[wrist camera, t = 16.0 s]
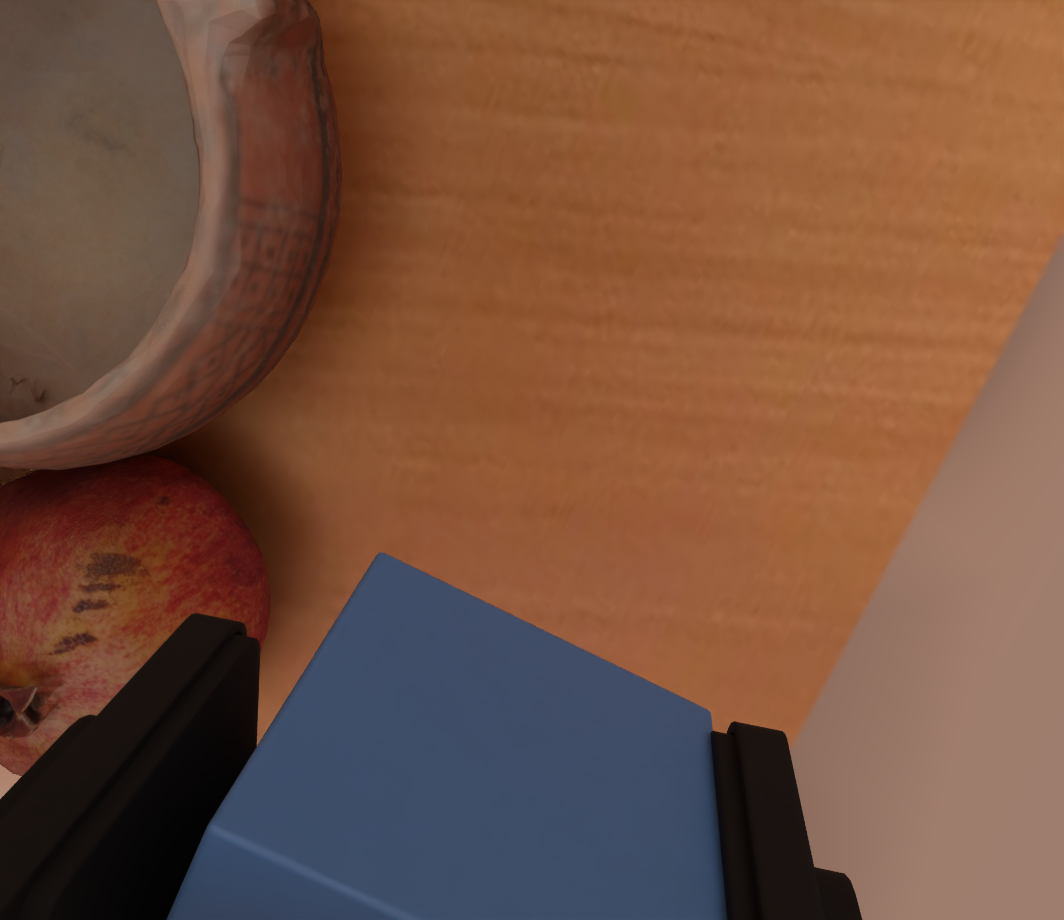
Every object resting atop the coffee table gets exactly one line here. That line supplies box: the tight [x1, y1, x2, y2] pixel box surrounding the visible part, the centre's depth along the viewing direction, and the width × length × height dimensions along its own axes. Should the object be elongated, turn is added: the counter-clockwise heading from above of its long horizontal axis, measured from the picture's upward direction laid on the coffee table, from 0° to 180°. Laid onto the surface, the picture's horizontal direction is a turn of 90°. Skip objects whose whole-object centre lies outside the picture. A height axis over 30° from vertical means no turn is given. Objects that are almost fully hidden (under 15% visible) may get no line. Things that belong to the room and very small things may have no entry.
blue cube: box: [167, 553, 727, 920], centre depth 9 cm, size 4×4×4 cm
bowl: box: [0, 0, 342, 470], centre depth 23 cm, size 16×16×10 cm
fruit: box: [0, 455, 270, 776], centre depth 28 cm, size 11×10×10 cm
